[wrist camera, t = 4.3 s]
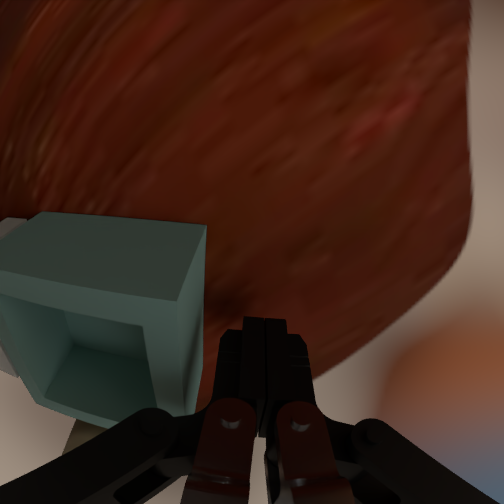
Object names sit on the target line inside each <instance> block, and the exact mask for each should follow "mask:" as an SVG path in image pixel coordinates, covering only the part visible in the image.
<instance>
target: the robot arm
mask: <svg viewBox="0 0 504 504" xmlns="http://www.w3.org/2000/svg"><path fill="white" fill-rule="evenodd" d="M257 433H258V437H263V438H266V451H265V454H264V464H265V475H266V485H267V495H268V504H499V503H498V502H496V501H495V500H493V499H492V498H490V497H489V496H487V495H486V494H484V493H483V492H481V491H479V490H478V489H477V488H475V487H473V486H472V485H471V484H469V483H468V482H466V481H465V480H463V479H462V478H460V477H459V476H457V475H456V474H455V473H453V472H452V471H450V470H449V469H447V468H446V467H445V466H443V465H441V464H440V463H439V462H438V461H436V460H435V459H433V458H432V457H431V456H429V455H428V454H426V453H425V452H424V451H422V450H421V449H420V448H418V447H417V446H415V445H414V444H413V443H412V442H410V441H409V440H408V439H406V438H405V437H403V436H402V435H401V434H400V433H398V432H397V431H395V430H394V429H393V428H392V427H390V426H389V425H388V424H386V423H385V422H383V421H381V420H378V419H371V418H369V419H364V420H362V421H360V422H358V423H357V424H356V425H355V426H354V425H350V424H346V423H342V422H337V421H334V420H331V419H330V418H328V417H326V416H325V415H324V414H323V413H322V412H321V411H320V409H319V408H318V407H317V405H316V401H315V394H314V388H313V382H312V375H311V369H310V363H309V358H308V351H307V345H306V343H305V342H304V341H303V339H302V338H301V336H300V335H299V334H287V325H286V320H285V319H273V318H265V321H264V318H259V317H247V316H244V318H243V327H242V330H232V329H227V331H226V332H225V333H224V334H223V336H222V337H221V338H220V344H219V352H218V358H217V365H216V372H215V379H214V386H213V394H212V398H211V401H210V403H209V404H208V405H207V406H206V407H205V408H204V409H203V410H201V411H199V412H197V413H195V414H191V415H184V416H176V417H173V416H172V415H171V414H170V413H168V412H167V411H165V410H163V409H160V408H153V407H151V408H144V409H141V410H139V411H137V412H135V413H134V414H132V415H130V416H129V417H127V418H126V419H124V420H122V421H121V422H119V423H117V424H116V425H114V426H112V427H111V428H109V429H107V430H106V431H104V432H102V433H101V434H99V435H97V436H95V437H94V438H92V439H90V440H89V441H87V442H85V443H83V444H82V445H80V446H78V447H76V448H74V449H73V450H71V451H69V452H67V453H65V454H63V455H62V456H60V457H58V458H56V459H54V460H52V461H51V462H49V463H47V464H45V465H43V466H41V467H39V468H37V469H35V470H33V471H31V472H29V473H27V474H25V475H23V476H21V477H19V478H17V479H15V480H12V481H10V482H8V483H6V484H4V485H2V486H0V504H143V503H145V502H146V501H148V500H149V499H151V498H152V497H154V496H155V495H157V494H158V493H159V492H161V491H162V490H164V489H165V488H166V487H168V486H169V485H171V484H172V483H173V482H175V481H176V480H177V479H178V478H180V477H181V476H185V475H188V477H187V480H186V483H185V487H184V491H183V495H182V499H181V503H180V504H248V500H249V491H250V472H251V462H252V454H253V445H254V439H255V437H257Z"/></svg>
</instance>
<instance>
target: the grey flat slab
mask: <svg viewBox="0 0 504 504" xmlns="http://www.w3.org/2000/svg"><path fill="white" fill-rule="evenodd" d="M25 222H27V219H21V218H8V217H7V218H6V219H4V220H3V221H1V222H0V240H1V239H3V238H4V237H5V236H7V235H8V234H10V233H11V232H12V231H14V230H15V229H17V228H18V227H20V226H21V225H23V224H24V223H25ZM0 370H2V371H4V372H6V373H8V374H10V375H12V376H15V377H17V378H18V377H19V374H18V372H17V370H16V369H15V367H14V365H13V363H12V361H11V359H10V357H9V355H8V354H7V352H6V350H5V348H4V345H3V343H2V341H1V339H0Z"/></svg>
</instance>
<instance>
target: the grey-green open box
mask: <svg viewBox="0 0 504 504" xmlns="http://www.w3.org/2000/svg"><path fill="white" fill-rule="evenodd" d="M206 228H207V225H199V224H189V223H179V222H168V221H157V220H146V219H134V218H122V217H110V216H97V215H84V214H71V213H57V212H41V213H39V214H38V215H36V216H34V217H33V218H31V219H30V220H28V221H27V222H25V223H24V224H23V225H21V226H20V227H18V228H17V229H15V230H14V231H12V232H11V233H10V234H8V235H7V236H5V237H4V238H3V239H1V240H0V339H1V341H2V343H3V345H4V348H5V350H6V352H7V354H8V355H9V357H10V359H11V361H12V363H13V365H14V367H15V369H16V370H17V372H18V374H19V376H20V378H21V379H22V381H23V383H24V384H25V386H26V388H27V389H28V391H29V393H30V394H31V396H32V397H33V399H34V401H35V402H36V403H37V404H39V405H42V406H44V407H47V408H49V409H51V410H54V411H57V412H59V413H62V414H65V415H68V416H70V417H73V418H76V419H79V420H82V421H85V422H88V423H91V424H94V425H97V426H101V427H104V428H108V429H109V428H111V427H112V426H114V425H116V424H117V423H119V422H121V421H122V420H124V419H126V418H127V417H129V416H130V415H132V414H134V413H135V412H137V411H139V410H141V409H144V408H151V407H153V408H160V409H163V410H165V411H167V412H168V413H170V414H171V415H172V416H173V417H176V416H184V415H191V414H194V412H195V406H196V401H197V395H198V390H199V384H200V378H201V373H202V368H203V307H204V273H205V248H206Z"/></svg>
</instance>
